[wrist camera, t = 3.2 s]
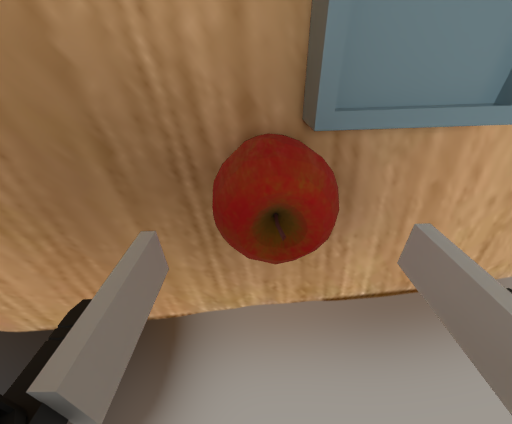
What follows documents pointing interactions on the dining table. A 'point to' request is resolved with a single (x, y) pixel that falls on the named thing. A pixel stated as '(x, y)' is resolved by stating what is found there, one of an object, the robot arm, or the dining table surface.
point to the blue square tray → (408, 64)
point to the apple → (275, 199)
